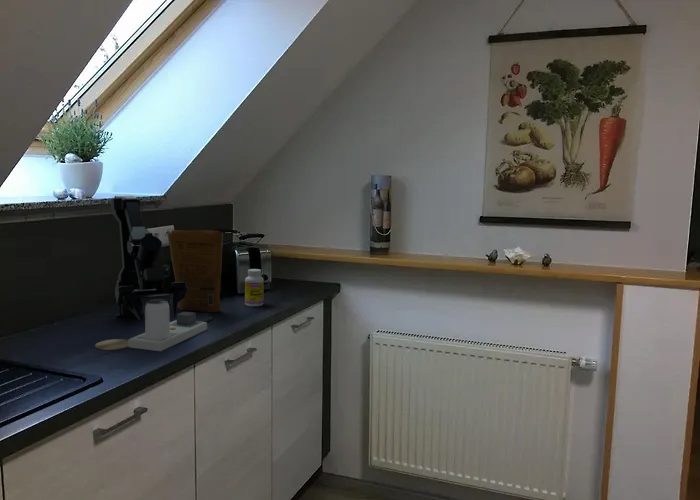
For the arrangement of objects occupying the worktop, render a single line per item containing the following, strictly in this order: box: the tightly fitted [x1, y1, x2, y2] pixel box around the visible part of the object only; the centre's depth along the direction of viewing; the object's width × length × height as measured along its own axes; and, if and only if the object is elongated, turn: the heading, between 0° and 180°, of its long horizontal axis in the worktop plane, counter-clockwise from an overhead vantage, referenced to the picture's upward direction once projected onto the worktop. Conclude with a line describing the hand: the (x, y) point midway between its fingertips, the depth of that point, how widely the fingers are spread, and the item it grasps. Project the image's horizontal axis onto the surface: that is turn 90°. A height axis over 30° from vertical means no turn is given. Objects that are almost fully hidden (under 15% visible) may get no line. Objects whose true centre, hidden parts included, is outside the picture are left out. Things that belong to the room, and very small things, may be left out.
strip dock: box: [127, 319, 208, 352], centre depth 173 cm, size 10×24×2 cm, turn 163°
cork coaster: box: [94, 338, 129, 351], centre depth 165 cm, size 9×9×1 cm
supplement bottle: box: [244, 268, 265, 308], centre depth 217 cm, size 7×7×13 cm
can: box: [144, 298, 171, 341], centre depth 167 cm, size 6×6×12 cm
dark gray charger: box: [176, 311, 197, 325], centre depth 181 cm, size 4×4×3 cm
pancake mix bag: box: [167, 229, 224, 313], centre depth 205 cm, size 7×19×28 cm, turn 77°
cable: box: [202, 316, 213, 323], centre depth 191 cm, size 10×1×1 cm, turn 168°
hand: (157, 318), depth 166 cm, fingers open, 9 cm apart
